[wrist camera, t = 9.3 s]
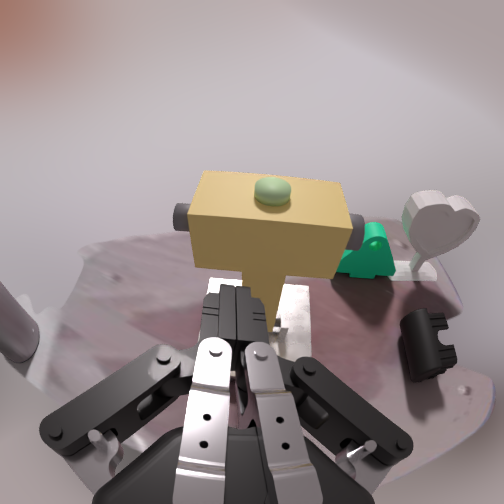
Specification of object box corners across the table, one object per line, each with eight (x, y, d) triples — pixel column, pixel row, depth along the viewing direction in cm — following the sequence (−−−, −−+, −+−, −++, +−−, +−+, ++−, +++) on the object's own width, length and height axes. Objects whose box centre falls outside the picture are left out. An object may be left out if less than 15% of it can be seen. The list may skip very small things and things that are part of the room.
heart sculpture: (382, 280, 48) (424, 203, 34) (375, 259, 51) (411, 183, 38) (443, 280, 48) (487, 215, 35) (435, 262, 51) (474, 197, 38)
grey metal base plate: (195, 378, 35) (188, 363, 30) (211, 288, 45) (209, 264, 41) (307, 387, 35) (318, 374, 30) (305, 296, 45) (313, 273, 40)
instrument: (191, 331, 34) (159, 204, 19) (200, 292, 38) (181, 162, 23) (319, 341, 34) (380, 223, 19) (317, 302, 38) (363, 178, 23)
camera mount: (383, 249, 52) (400, 209, 45) (390, 279, 47) (412, 240, 40) (326, 244, 53) (337, 201, 46) (329, 275, 48) (343, 232, 40)
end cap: (391, 329, 41) (410, 307, 36) (424, 327, 41) (444, 306, 36) (402, 386, 34) (426, 370, 29) (436, 380, 34) (461, 363, 29)
